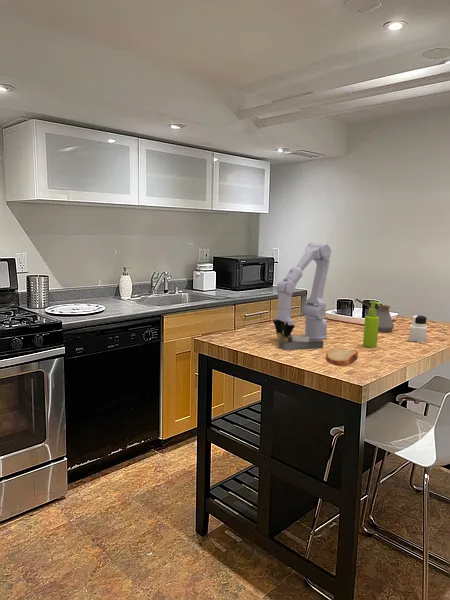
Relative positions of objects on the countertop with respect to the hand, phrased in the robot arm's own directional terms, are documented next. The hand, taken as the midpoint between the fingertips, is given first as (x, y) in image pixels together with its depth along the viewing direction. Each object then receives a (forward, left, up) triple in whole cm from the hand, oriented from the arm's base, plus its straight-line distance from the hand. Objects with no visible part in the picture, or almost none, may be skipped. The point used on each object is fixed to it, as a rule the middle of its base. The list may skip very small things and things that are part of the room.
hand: (282, 337), depth 210 cm
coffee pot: (-59, -18, -2) cm, 62 cm away
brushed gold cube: (0, 0, -2) cm, 2 cm away
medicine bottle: (-65, +9, -2) cm, 66 cm away
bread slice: (-13, +30, -2) cm, 33 cm away
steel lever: (-2, +12, +1) cm, 12 cm away
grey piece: (-4, +10, -2) cm, 11 cm away
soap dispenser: (-36, +14, -2) cm, 39 cm away
